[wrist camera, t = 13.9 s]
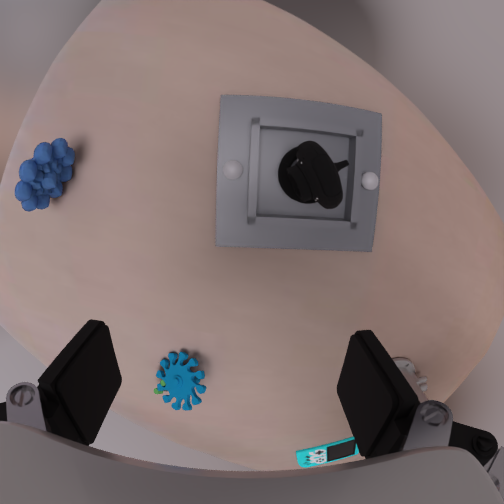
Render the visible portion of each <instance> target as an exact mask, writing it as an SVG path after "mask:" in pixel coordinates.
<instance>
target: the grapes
mask: <svg viewBox="0 0 504 504" xmlns="http://www.w3.org/2000/svg"><path fill="white" fill-rule="evenodd" d="M74 159H75V153H74V150H73V149H72V148H70V147H68V144H67V142H66V140H65V139H63V138H58V139H56V140H54V141H53V142H52V143H51V145H50V143H47V142H43V143H40V144H39V145H37V147H36V148H35V150H34V157H33V158H32V159H29V160H26V161H24V162H23V163H22V164H21V166H20V169H19V176H20V179H21V181H20V182H18V183H17V185H16V187H15V196H16V198H17V199H18V200H19V201H22V202H21V204H22V208H23V209H24V210H25V211H33V210H35V209H36V208H37V209H45V208H47V207H48V206H49V203H50V197H51V198H56V197H59V196H61V195H62V190H63V186H62V183H61V182H66V181H68V180H70V179H71V177H72V167H71V166H70V165H72V164H73V163H74Z"/></svg>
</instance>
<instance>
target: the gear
mask: <svg viewBox="0 0 504 504" xmlns="http://www.w3.org/2000/svg"><path fill="white" fill-rule="evenodd" d="M168 357H169V360H170V368H169V367H168V365H169V361H168V360H166V359H164V360H162V361H161V362H160V365H161V366H162V367H163V368H164V370H165V373H166V376H165V374H164V372H163V371H162V370H158V371H157V374H156V376H157V377H158V378H161V379H162V380H161V382H160V384H158V385H157V388H155V389H154V393H155V394H162V393H163V391H169V393H170V395H164V396H163V400H164V402H165V403H167V402H170V401H171V399H172V398H173V397H175V398H176V402H175V403H172V408H174V409H175V410H179V409H180V408H181V402H182V400H183V399H184V400H185V403H184V404H183V406H182V408H183V410H192V406H191V404H190V395H191V396H192V404H193V405H197V404H200V403H201V402H202V401H201V399H200V398H199V397H198V396H197V395H196V392H195V389H194V387H196V389H197V392H198V393H200V394H202V393H204V392H205V391H206V386H204V385H200V384H198V383H199V382H200V379H204V377H205V374H204V371H197V372H195V373H194V372H191V370H190V367H191V366H198V361H197V360H196V358H191V359H190V360H189V362H188V363H187V364H186V365H183V361H184V360H186V359H187V358H188V354H186V353H185V352H180V353H179V359H178V362H177V363H176V364H175V360H176V359H177V354H176V353H169V354H168ZM195 376H196V377H197V378H194V377H195Z"/></svg>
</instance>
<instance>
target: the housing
mask: <svg viewBox="0 0 504 504" xmlns="http://www.w3.org/2000/svg"><path fill="white" fill-rule="evenodd" d="M305 141H315V142H316V143H318V144H319V145H320V146H321V147H322V148H323V149H324V150H325V151H326V152H327V154H328V155H329V156H330V158H331V159H332V161H333V163H338V162H341V161H344V160H347V161H348V162H349V165H348V166H347V167H345V168H343V169H341V170H340V171H339V172H338V174H339V176H340V180H341V185H342V190H343V199H342V202H341V203H340V204H339V205H338V207H336V208H334V209H325V208H324V207H322V206H321V205H320V204H319V203H318V202H316V203H312V204H304V203H300V202H298V201H295V200H293V199H291V198H290V197H289V196H288V195H287V194H286V193H285V192H284V191H283V189H282V188H281V185H280V183H279V178H278V169H279V165H280V163H281V160H282V158H283V157H284V155H285V154H286V153H287V152H288V151H289V150H291V149H293V148H295V147H297V146H299V145H300V144H301V143H303V142H305ZM381 143H382V114H381V113H377V112H372V111H368V110H363V109H358V108H353V107H348V106H342V105H337V104H330V103H324V102H317V101H309V100H301V99H292V98H281V97H268V96H249V95H221V101H220V119H219V139H218V162H217V194H216V246H220V247H251V248H281V249H309V250H337V251H363V252H372V246H373V239H374V232H375V224H376V215H377V205H378V195H379V183H380V167H381ZM296 163H297V159H296V160H295V161H294V162H293V164H292V165H291V166H294V165H295V164H296Z"/></svg>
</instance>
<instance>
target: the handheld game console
mask: <svg viewBox="0 0 504 504" xmlns="http://www.w3.org/2000/svg"><path fill="white" fill-rule="evenodd" d="M358 453H359V450H358V447H357V444H356V442H355V439H354V437H350V438H347V439H344V440H340V441H337V442H333V443H329V444H325V445H321V446H317V447H313V448H308V449H303V450H299V451H296V455H297V460H298V464H299V465H300V466H301V467H311V466H316V465H320V464H324V463H328V462H332V461H336V460H340V459H343V458H347V457H350V456H353V455H356V454H358Z"/></svg>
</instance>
